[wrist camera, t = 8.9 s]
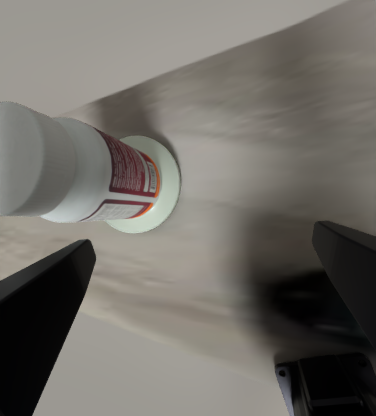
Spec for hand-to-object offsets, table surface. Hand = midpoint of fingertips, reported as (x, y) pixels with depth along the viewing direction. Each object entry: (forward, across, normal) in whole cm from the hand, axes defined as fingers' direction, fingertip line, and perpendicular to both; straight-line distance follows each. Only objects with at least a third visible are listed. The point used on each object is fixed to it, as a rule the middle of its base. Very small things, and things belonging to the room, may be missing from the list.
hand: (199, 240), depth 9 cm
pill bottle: (+12, +6, +1) cm, 14 cm away
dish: (+13, +6, +2) cm, 14 cm away
